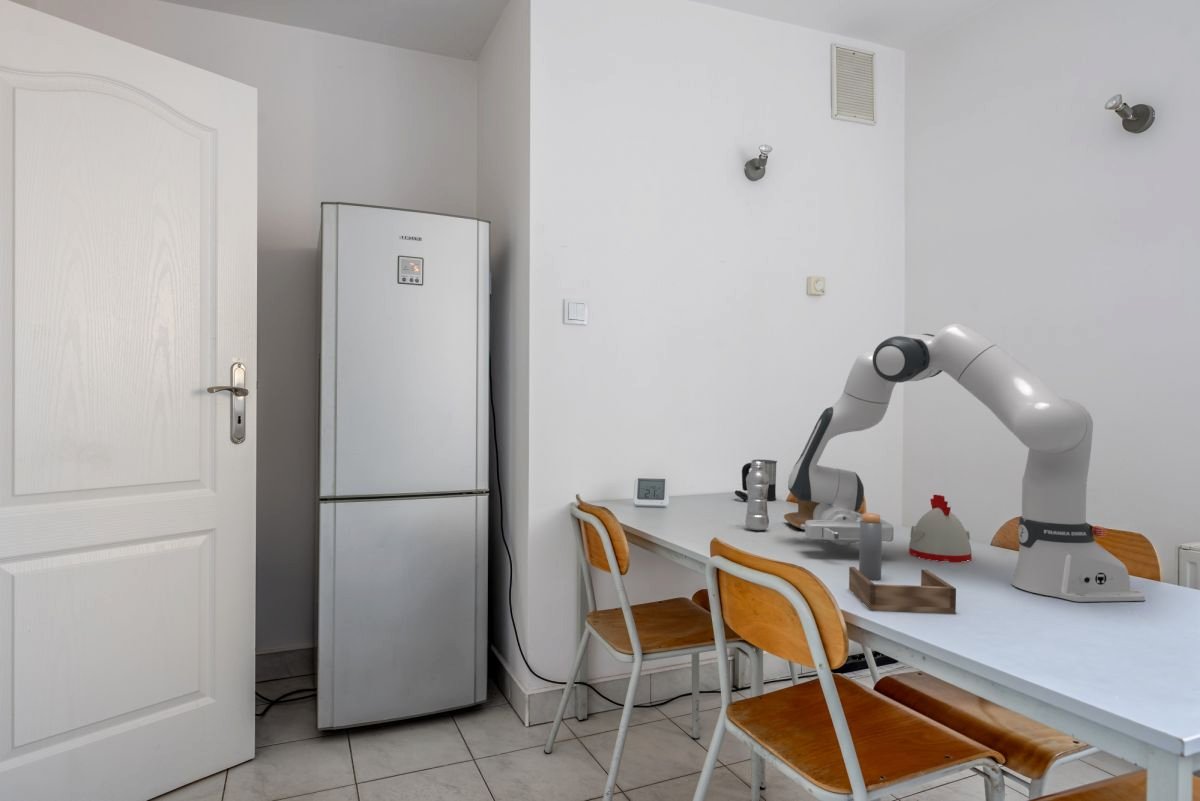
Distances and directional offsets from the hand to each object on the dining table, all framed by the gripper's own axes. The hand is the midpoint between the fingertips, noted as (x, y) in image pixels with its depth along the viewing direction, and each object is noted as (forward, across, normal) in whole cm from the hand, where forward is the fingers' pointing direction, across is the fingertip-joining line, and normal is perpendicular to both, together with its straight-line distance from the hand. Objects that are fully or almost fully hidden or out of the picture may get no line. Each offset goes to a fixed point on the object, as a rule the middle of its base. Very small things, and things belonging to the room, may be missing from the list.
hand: (856, 537), depth 162 cm
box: (+28, 0, +7) cm, 29 cm away
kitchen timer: (-14, +24, +7) cm, 28 cm away
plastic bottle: (-40, -17, +7) cm, 44 cm away
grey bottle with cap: (+11, 0, +7) cm, 13 cm away
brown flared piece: (-47, -1, +7) cm, 47 cm away
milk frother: (-102, -9, +7) cm, 102 cm away
